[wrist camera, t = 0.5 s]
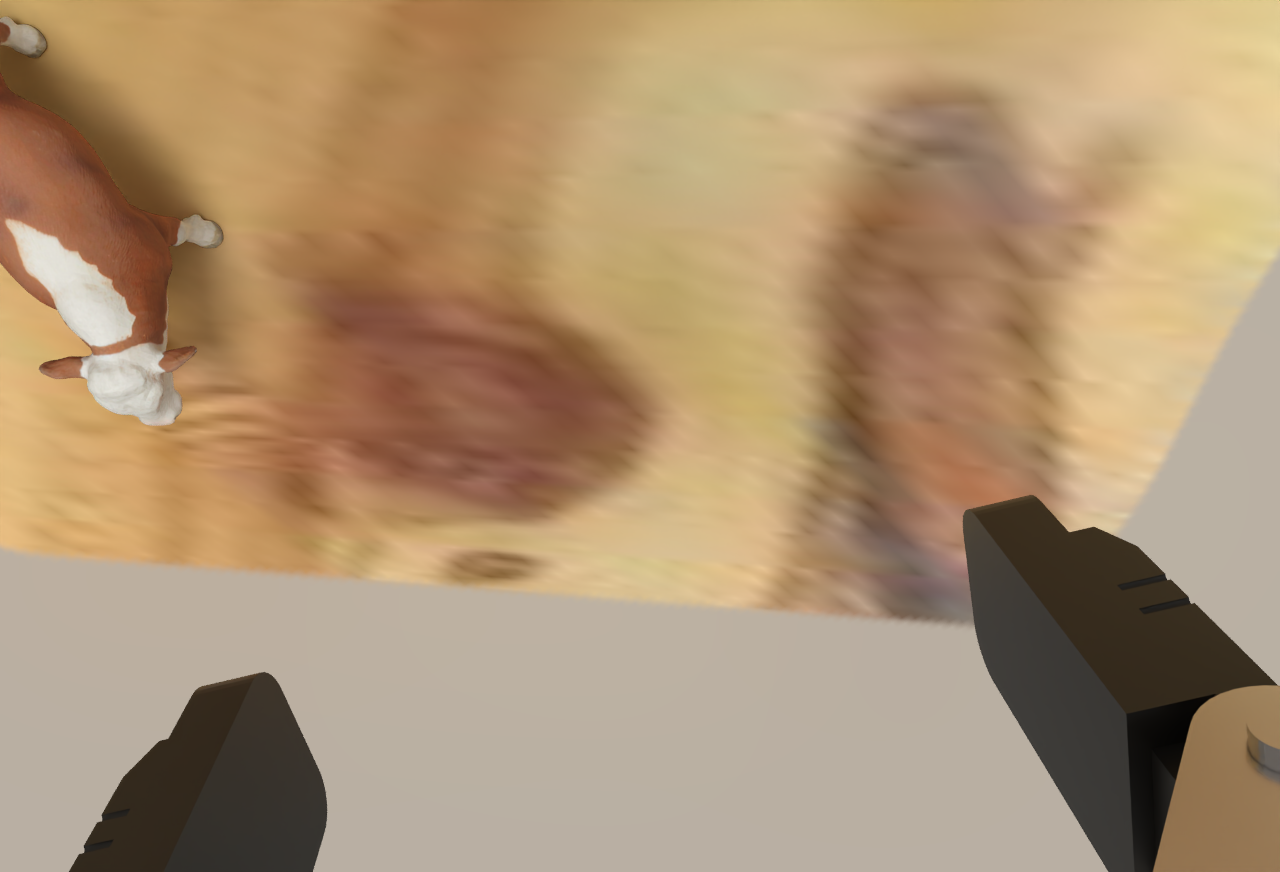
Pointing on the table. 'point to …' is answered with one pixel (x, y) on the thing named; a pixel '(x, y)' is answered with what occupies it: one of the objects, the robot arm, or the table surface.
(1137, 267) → the table surface
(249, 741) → the robot arm
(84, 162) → the bull figurine
